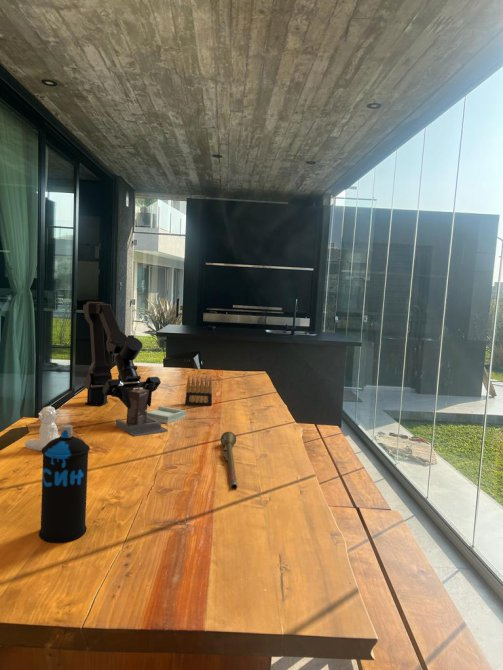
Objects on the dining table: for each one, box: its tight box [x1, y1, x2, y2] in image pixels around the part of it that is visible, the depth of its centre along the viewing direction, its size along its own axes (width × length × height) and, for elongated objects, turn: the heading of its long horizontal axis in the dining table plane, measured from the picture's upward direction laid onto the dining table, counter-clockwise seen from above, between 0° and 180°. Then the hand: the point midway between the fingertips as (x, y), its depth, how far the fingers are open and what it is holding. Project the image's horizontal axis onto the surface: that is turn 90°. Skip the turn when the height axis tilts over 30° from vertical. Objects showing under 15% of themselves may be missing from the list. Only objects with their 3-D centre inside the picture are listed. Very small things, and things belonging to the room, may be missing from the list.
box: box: [125, 388, 149, 425], centre depth 161 cm, size 6×4×12 cm
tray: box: [147, 405, 187, 425], centre depth 174 cm, size 12×12×2 cm
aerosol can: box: [38, 424, 91, 544], centre depth 89 cm, size 8×8×20 cm
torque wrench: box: [220, 431, 238, 490], centre depth 132 cm, size 5×35×5 cm
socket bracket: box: [115, 416, 169, 437], centre depth 159 cm, size 14×12×2 cm
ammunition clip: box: [184, 374, 213, 407], centre depth 197 cm, size 11×2×12 cm, turn 96°
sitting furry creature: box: [24, 405, 61, 452], centre depth 134 cm, size 10×9×12 cm
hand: (139, 407), depth 160 cm, fingers closed on box, 7 cm apart
